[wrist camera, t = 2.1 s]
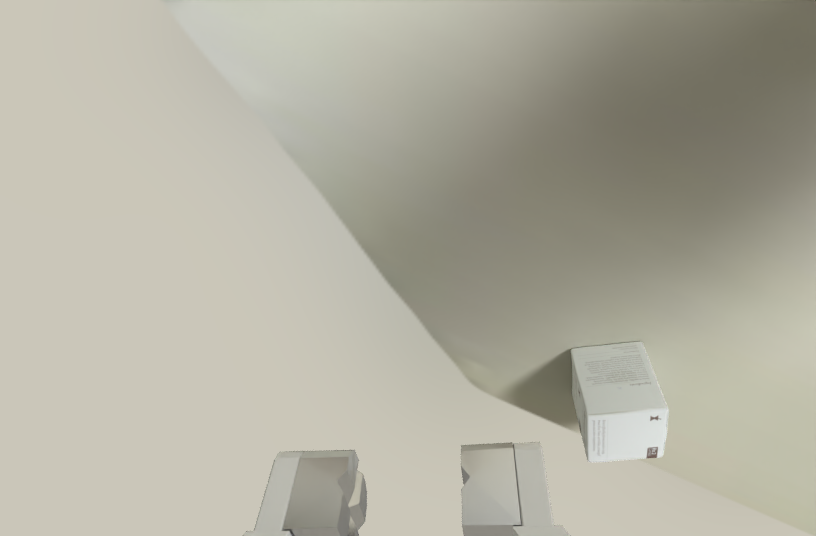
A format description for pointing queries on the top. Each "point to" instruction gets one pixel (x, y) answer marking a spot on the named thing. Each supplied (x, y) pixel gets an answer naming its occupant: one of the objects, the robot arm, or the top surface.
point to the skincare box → (618, 402)
